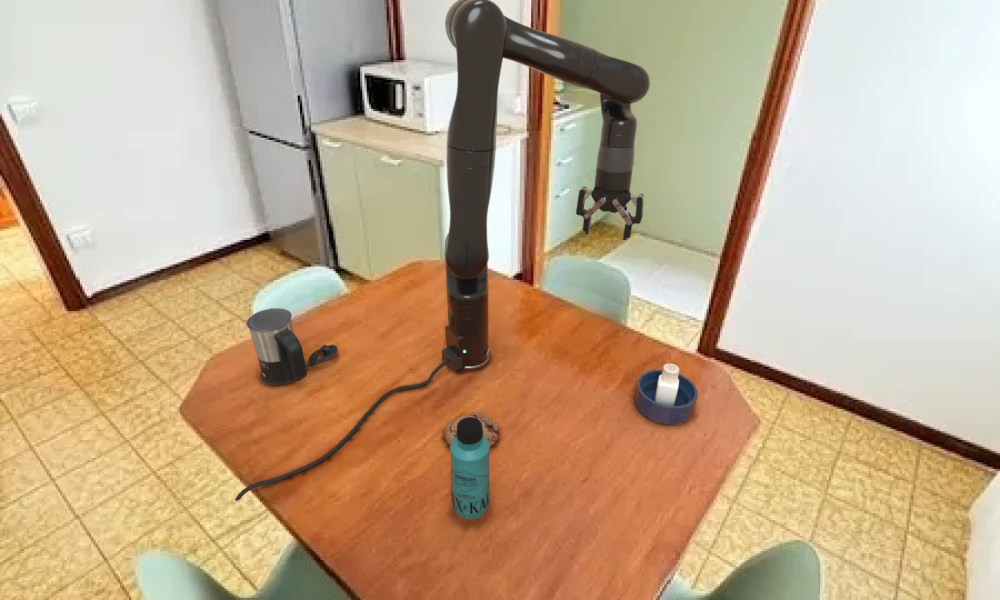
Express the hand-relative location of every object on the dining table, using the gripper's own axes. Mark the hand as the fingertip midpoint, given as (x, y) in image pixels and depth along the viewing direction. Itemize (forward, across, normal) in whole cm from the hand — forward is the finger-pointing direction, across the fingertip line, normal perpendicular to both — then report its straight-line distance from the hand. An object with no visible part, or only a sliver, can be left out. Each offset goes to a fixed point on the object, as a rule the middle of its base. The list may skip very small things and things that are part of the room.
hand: (606, 236), depth 122 cm
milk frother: (+28, -61, -36) cm, 77 cm away
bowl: (+28, +19, -20) cm, 39 cm away
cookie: (+28, -16, -42) cm, 53 cm away
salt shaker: (+28, +19, -19) cm, 39 cm away
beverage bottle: (+28, -9, -58) cm, 65 cm away
